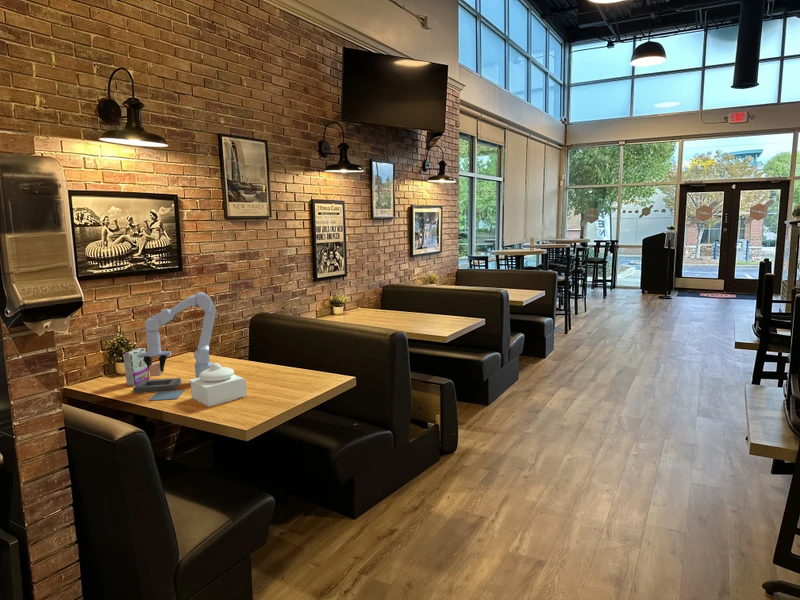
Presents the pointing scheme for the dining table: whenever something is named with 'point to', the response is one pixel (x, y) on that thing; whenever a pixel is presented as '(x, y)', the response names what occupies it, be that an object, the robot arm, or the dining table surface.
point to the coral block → (155, 370)
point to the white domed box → (217, 386)
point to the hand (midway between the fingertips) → (156, 371)
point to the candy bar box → (135, 367)
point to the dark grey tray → (157, 385)
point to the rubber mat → (166, 395)
